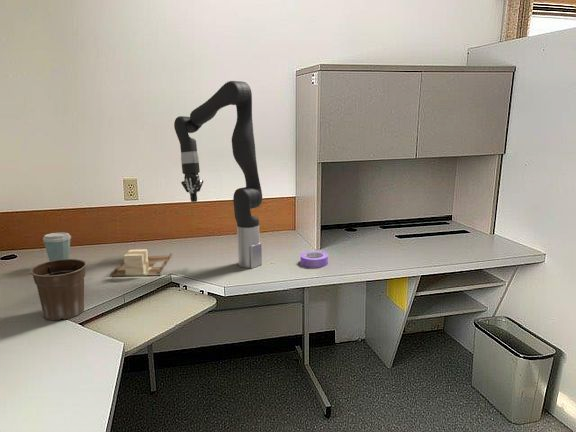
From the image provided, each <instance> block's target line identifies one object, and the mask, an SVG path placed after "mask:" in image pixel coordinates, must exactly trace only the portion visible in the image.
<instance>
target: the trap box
mask: <svg viewBox="0 0 576 432" xmlns="http://www.w3.org/2000/svg"><path fill="white" fill-rule="evenodd" d="M172 256H173V253H169V255H165V254H164V255H148V264H149V268H148V270H147V271H146V272H145V274H144V275H126V272H125V267H122V266H124V265H125V263H124V259H123V260H122V261H121V262H120V263H119V264H118V265H117V266H116V267H115V269H113V270H112V272H111V278H142V277H143V278H145V277H161V276H162V274H161V273H162V271H163V270H164V268H165V267H166V265H167V263H168V262H169V261H170V259H171V258H172ZM156 262H163V263H162V265H161V266H154V265H155V264H156Z"/></svg>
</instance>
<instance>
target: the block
mask: <svg viewBox="0 0 576 432" xmlns="http://www.w3.org/2000/svg"><path fill="white" fill-rule="evenodd" d="M148 253H149V252H148V249H146V248H145V249H129V250H128V251H127V252H126V253H125V254H124V255H123V260H124V268H125V272H126V274H125V275H146V274H145V272H146V271H147V270H148V268H149V264H148V256H149V255H148Z"/></svg>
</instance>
